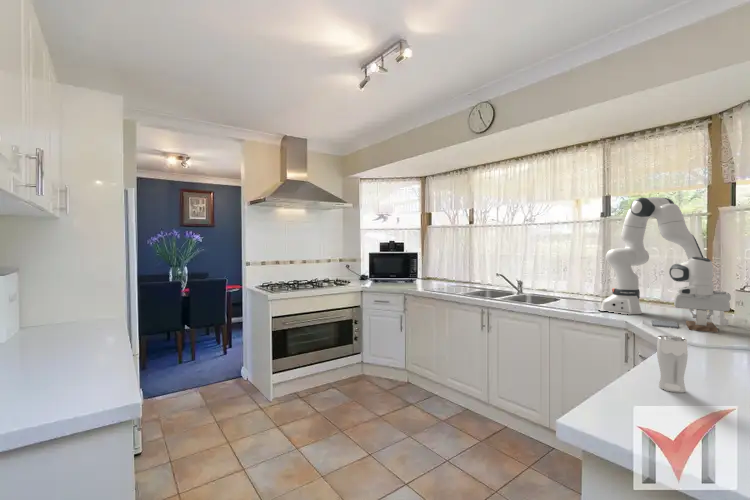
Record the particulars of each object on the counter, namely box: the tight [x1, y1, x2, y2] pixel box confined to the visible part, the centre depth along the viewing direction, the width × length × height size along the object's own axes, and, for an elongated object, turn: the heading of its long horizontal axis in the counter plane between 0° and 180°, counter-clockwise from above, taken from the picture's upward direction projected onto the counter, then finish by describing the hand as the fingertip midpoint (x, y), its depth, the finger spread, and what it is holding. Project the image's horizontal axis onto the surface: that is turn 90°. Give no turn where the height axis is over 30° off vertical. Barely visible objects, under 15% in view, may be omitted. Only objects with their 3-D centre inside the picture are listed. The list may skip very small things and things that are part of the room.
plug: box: [695, 309, 708, 326], centre depth 176 cm, size 4×5×9 cm
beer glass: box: [656, 334, 689, 394], centre depth 106 cm, size 7×7×15 cm
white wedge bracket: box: [711, 310, 730, 326], centre depth 183 cm, size 4×10×9 cm, turn 168°
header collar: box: [685, 319, 718, 333], centre depth 176 cm, size 10×14×2 cm
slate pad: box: [651, 319, 679, 329], centre depth 185 cm, size 10×12×1 cm
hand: (701, 318), depth 176 cm, fingers closed on plug, 3 cm apart
